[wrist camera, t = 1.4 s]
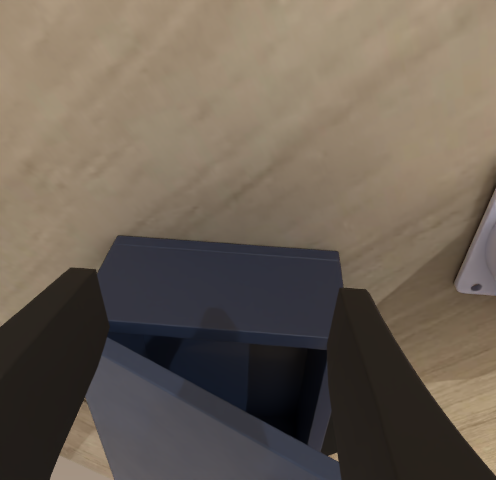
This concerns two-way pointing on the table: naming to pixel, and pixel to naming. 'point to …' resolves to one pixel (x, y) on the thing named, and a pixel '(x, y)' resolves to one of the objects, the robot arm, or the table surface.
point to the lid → (187, 429)
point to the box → (231, 322)
